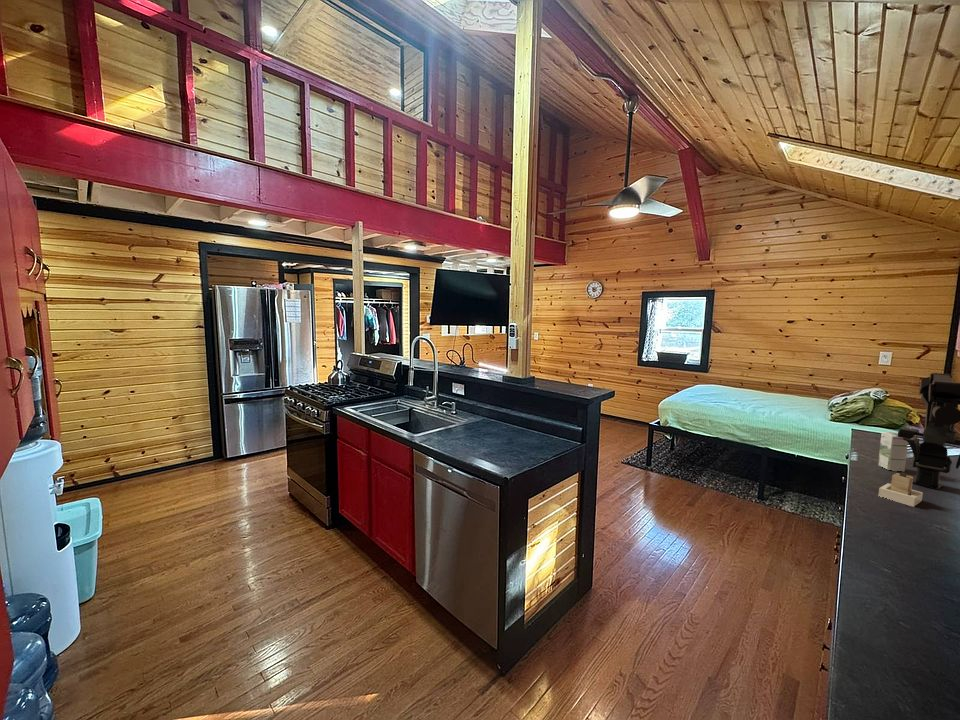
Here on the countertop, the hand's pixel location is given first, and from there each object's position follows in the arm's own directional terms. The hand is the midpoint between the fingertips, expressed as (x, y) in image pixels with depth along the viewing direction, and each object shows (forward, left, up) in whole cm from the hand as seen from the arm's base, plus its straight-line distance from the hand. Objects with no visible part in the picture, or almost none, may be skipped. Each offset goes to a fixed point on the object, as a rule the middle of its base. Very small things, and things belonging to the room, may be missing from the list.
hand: (936, 463), depth 133 cm
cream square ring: (+11, -5, -12) cm, 17 cm away
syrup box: (-24, -16, -12) cm, 31 cm away
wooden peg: (+11, -5, -12) cm, 17 cm away
